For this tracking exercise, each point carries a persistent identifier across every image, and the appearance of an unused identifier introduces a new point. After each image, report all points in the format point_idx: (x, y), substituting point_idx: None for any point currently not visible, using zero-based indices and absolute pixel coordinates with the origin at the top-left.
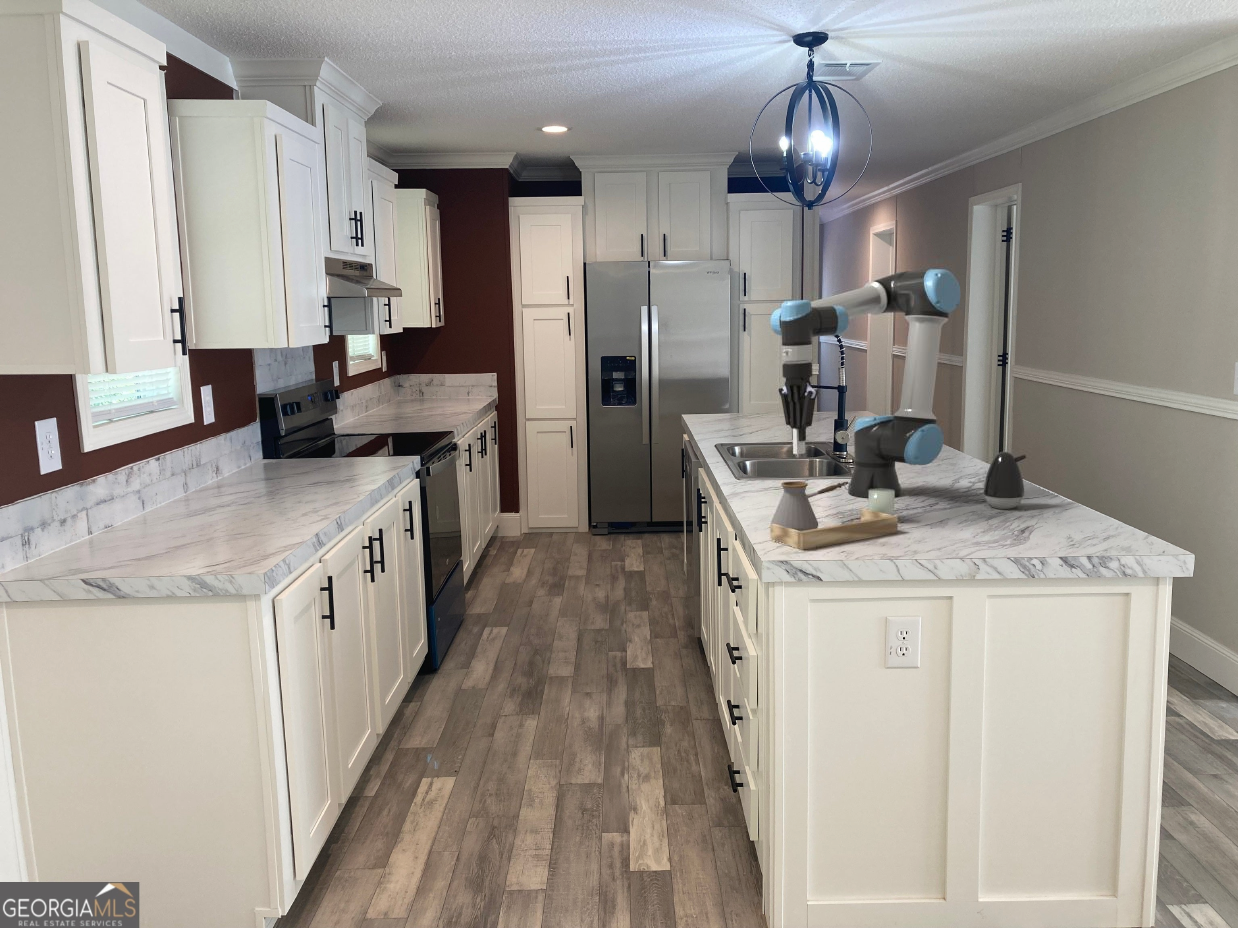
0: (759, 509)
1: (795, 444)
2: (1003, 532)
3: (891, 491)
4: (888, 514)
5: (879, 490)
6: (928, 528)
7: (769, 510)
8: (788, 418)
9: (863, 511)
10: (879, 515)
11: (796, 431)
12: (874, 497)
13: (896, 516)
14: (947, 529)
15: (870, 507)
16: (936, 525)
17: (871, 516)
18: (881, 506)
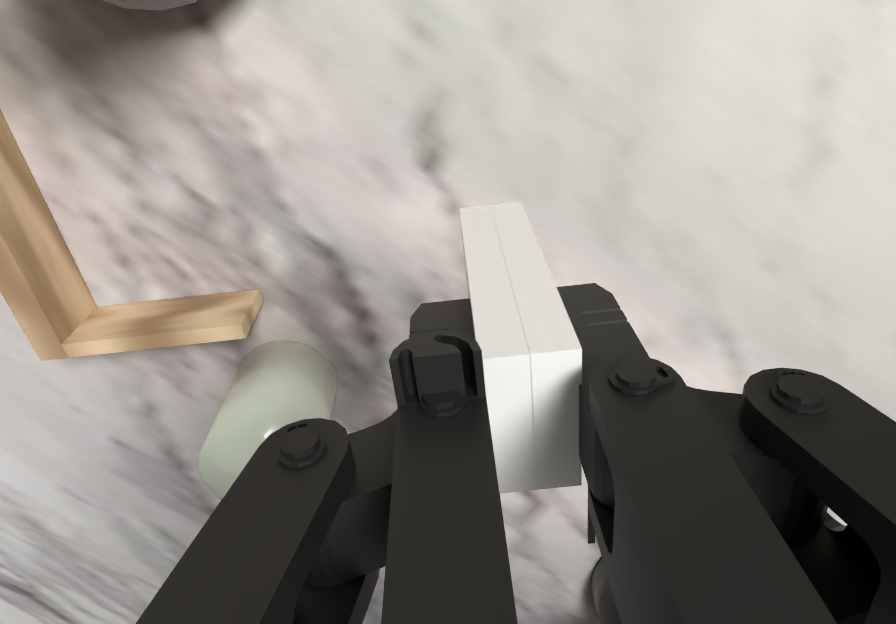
0: (800, 73)
1: (489, 245)
2: (11, 553)
3: (225, 490)
4: (91, 353)
5: None
6: (119, 436)
7: (742, 107)
8: (820, 480)
9: (227, 321)
10: (128, 331)
11: (477, 338)
12: (234, 412)
13: (42, 357)
14: (88, 469)
15: (271, 377)
16: (156, 475)
17: (182, 319)
18: (223, 402)
